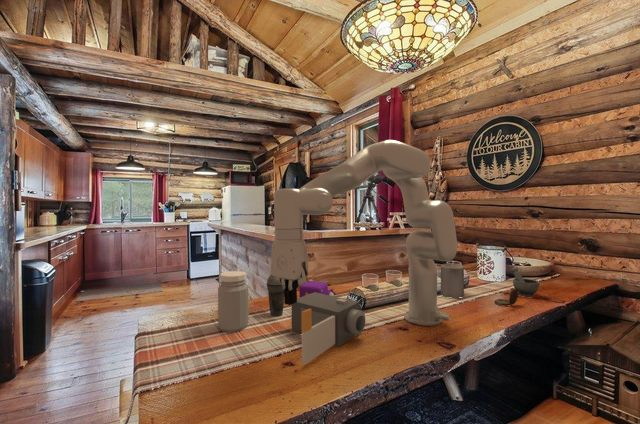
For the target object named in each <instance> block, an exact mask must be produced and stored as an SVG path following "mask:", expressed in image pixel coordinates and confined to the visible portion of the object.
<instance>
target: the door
mask: <svg viewBox="0 0 640 424" xmlns="http://www.w3.org/2000/svg"><path fill="white" fill-rule="evenodd" d="M334 344H335V316H331V317H329V318H327V319H325V320H323V321H321V322H320V323H318V324H316V325H314V326H312V309H307V310H305V311H303V312H302V335H301V364H302V365H304V366H305V365H306V364H308V363H309V362H311V361H313V360H314V359H315V358H317V357H318V356H319V355H322V354H323V353H324V352H326V351H327V350H329V349H330V348H332V347H333V345H334Z"/></svg>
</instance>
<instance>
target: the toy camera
mask: <svg viewBox="0 0 640 424" xmlns="http://www.w3.org/2000/svg"><path fill="white" fill-rule="evenodd" d="M298 289H299V291H298V292H299V293H298V295H299V297H298V298H300V297H303V296H306V295H308V294H311V293H314V292H316V293H321V294H325V295H330V296H334V297H335V292H334V289H333V288H330V289H329V286H328V283H327V282H324V281H316V280H315V281H314V279H309V280H308V281H307V282H306V283H305V284H301V285H299V287H298Z"/></svg>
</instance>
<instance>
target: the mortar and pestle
mask: <svg viewBox="0 0 640 424" xmlns="http://www.w3.org/2000/svg"><path fill="white" fill-rule="evenodd" d="M511 272H512V273H513V276H514V278H513V279H512V284H513V287H514V289H516V290H517V291H518V295H521V296H525V297H534V298H535V294H536V293H537V292H538V290H539V289H540V281H537V280H535V279H530V278H523V276H522V274H521V273H520V271H519V268H518V267H514V268H511Z"/></svg>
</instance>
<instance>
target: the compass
mask: <svg viewBox="0 0 640 424" xmlns="http://www.w3.org/2000/svg"><path fill="white" fill-rule="evenodd" d="M518 297H519V296H518V291H517V290H516V289H515V288H512V290H511V292H510V293H509V298H508V299H509V300H508V299H504V298H498V299H495V300H494V304H495V305H497V306H501V305H511V306H512V305H515V304H516V302H517V300H518Z"/></svg>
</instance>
